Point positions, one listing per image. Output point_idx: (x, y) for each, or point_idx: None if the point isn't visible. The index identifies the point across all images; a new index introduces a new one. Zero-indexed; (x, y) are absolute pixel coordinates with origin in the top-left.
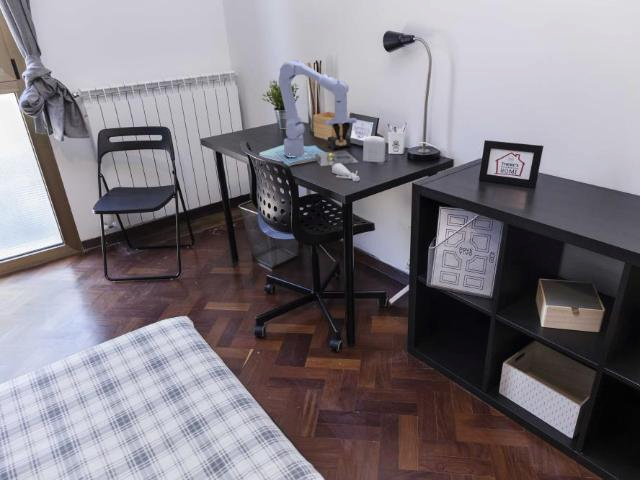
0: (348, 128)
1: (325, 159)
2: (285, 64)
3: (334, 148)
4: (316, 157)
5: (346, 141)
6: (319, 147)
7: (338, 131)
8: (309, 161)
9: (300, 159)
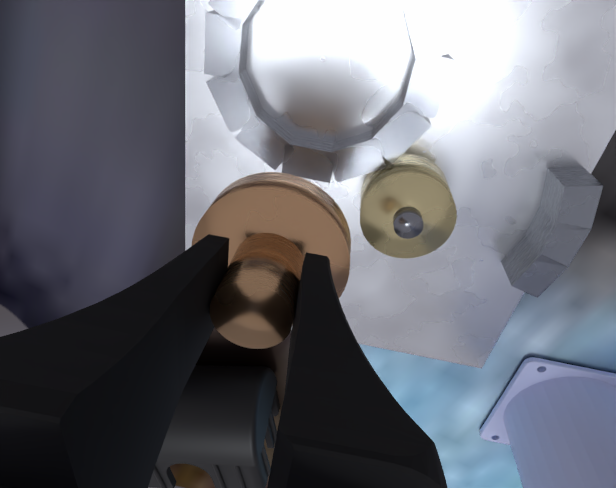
0: (32, 329)
1: (477, 183)
2: None
3: (258, 367)
4: (586, 217)
5: None
6: None
7: (324, 350)
8: (593, 251)
9: (610, 329)
